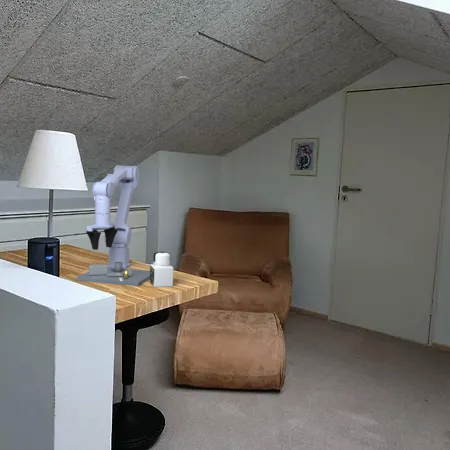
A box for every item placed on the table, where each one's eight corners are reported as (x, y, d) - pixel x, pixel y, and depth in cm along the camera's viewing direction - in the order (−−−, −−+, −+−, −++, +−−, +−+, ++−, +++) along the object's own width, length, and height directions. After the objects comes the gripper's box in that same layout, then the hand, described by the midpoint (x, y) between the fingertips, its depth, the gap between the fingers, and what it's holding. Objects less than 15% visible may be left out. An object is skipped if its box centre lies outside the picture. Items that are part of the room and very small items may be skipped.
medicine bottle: (149, 282, 166) (150, 250, 165) (168, 281, 169) (169, 250, 167) (153, 287, 160) (154, 254, 158) (173, 286, 162) (174, 253, 161)
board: (101, 269, 185) (101, 255, 184) (156, 274, 180) (157, 260, 180) (76, 280, 165) (76, 265, 164) (137, 286, 161) (138, 270, 160)
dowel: (125, 278, 167) (125, 270, 167) (129, 278, 167) (129, 270, 166) (123, 278, 165) (123, 270, 165) (127, 279, 165) (127, 271, 165)
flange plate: (129, 270, 178) (129, 261, 178) (132, 275, 170) (132, 266, 169) (88, 271, 173) (88, 262, 173) (89, 277, 165) (89, 267, 164)
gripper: (97, 215, 164) (96, 251, 166) (123, 213, 177) (122, 247, 179) (82, 213, 168) (82, 249, 169) (109, 211, 180) (108, 245, 182)
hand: (102, 248), depth 174 cm, fingers open, 7 cm apart
